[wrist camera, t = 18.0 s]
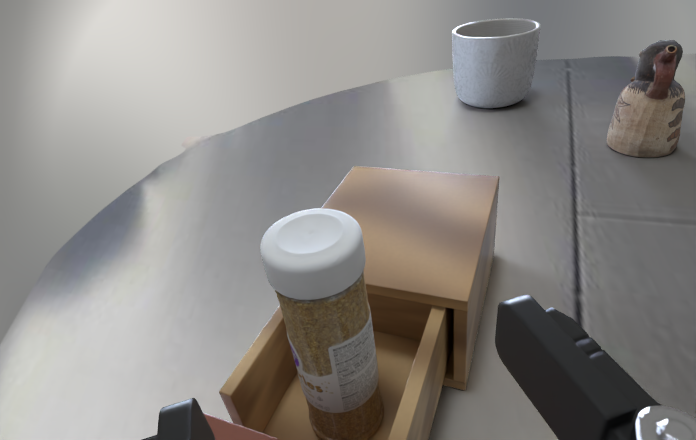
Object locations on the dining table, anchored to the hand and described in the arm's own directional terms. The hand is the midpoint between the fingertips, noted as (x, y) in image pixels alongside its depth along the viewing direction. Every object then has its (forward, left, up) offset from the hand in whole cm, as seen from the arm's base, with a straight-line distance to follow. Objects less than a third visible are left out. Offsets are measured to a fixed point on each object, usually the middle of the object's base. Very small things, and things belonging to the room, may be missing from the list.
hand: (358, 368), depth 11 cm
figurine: (+15, +51, -17) cm, 56 cm away
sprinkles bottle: (-5, +7, -15) cm, 17 cm away
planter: (-4, +66, -17) cm, 69 cm away
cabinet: (-5, +19, -17) cm, 26 cm away
